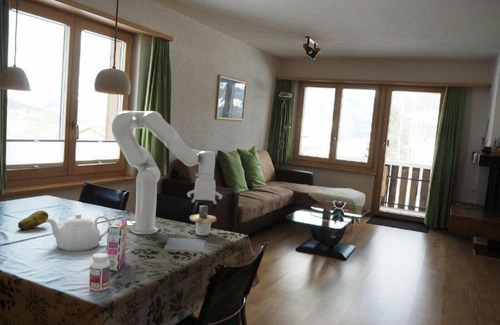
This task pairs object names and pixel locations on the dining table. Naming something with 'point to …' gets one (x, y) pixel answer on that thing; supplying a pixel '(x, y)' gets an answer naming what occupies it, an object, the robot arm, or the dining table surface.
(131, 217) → the dining table surface
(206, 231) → the cup
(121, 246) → the candy bar box
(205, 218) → the lid
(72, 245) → the teapot
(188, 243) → the mat
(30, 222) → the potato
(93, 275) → the pill bottle
